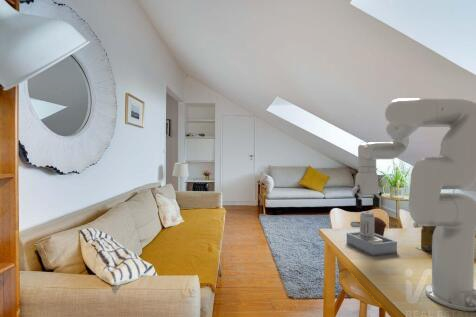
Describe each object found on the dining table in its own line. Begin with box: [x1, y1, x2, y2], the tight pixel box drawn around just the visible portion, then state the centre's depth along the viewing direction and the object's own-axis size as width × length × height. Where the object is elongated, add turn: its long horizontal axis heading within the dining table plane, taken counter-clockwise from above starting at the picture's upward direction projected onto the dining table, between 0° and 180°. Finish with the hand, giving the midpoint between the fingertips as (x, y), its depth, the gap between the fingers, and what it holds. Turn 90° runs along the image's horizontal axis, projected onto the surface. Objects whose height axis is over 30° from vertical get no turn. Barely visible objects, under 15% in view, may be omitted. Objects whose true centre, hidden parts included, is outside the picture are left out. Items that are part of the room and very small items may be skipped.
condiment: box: [416, 225, 436, 255], centre depth 113 cm, size 7×8×12 cm
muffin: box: [374, 216, 387, 237], centre depth 132 cm, size 12×11×10 cm
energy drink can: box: [359, 210, 376, 241], centre depth 118 cm, size 6×6×15 cm
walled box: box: [346, 231, 398, 257], centre depth 116 cm, size 16×13×5 cm
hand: (367, 207), depth 117 cm, fingers open, 9 cm apart
